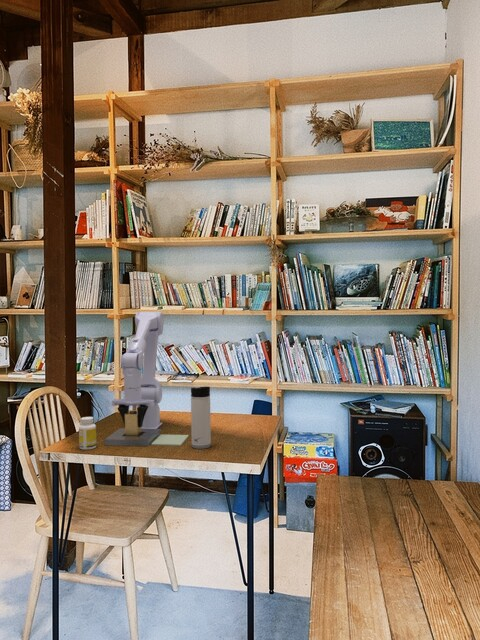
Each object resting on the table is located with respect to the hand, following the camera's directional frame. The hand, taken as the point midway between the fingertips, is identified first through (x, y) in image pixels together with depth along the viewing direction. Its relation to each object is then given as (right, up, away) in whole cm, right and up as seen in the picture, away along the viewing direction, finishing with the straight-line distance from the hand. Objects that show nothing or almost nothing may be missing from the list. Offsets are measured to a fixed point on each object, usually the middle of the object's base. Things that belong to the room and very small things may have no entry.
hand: (133, 426), depth 177 cm
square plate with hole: (0, -5, 0) cm, 5 cm away
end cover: (0, -3, 0) cm, 3 cm away
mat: (+13, -5, -1) cm, 14 cm away
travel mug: (+24, -5, -9) cm, 26 cm away
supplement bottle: (-13, -5, -9) cm, 17 cm away
